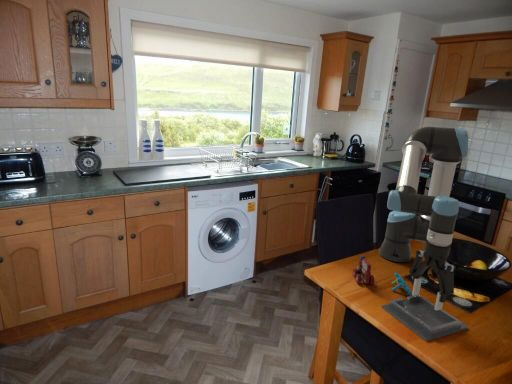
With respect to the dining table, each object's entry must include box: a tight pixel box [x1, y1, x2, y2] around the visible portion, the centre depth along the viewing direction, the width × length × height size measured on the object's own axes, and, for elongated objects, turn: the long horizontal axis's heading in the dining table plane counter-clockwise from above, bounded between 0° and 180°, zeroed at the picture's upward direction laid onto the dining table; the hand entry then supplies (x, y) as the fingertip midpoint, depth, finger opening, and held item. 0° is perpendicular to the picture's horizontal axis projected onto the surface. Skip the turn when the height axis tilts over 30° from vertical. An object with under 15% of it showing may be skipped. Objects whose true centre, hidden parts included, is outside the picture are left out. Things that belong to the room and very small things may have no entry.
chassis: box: [381, 294, 469, 342], centre depth 121 cm, size 20×20×3 cm
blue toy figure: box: [391, 272, 412, 296], centre depth 138 cm, size 11×6×10 cm
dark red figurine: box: [352, 255, 375, 286], centre depth 145 cm, size 7×12×10 cm, turn 178°
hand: (426, 301), depth 120 cm, fingers open, 9 cm apart
